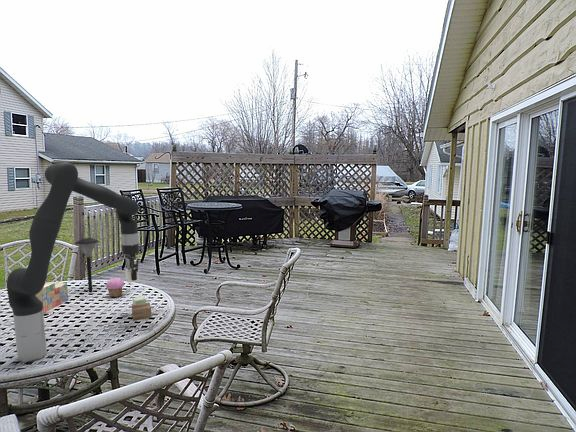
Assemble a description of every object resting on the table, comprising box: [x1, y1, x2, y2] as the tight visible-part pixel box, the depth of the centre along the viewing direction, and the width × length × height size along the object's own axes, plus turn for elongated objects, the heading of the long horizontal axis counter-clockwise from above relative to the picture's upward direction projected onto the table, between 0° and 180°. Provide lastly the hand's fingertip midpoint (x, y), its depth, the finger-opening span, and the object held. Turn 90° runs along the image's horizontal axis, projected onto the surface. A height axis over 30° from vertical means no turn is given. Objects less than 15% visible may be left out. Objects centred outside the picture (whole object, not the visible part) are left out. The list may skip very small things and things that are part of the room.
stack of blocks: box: [35, 282, 69, 314], centre depth 198 cm, size 21×6×12 cm, turn 173°
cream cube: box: [124, 268, 141, 284], centre depth 185 cm, size 5×5×5 cm
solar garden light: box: [74, 237, 100, 293], centre depth 221 cm, size 12×12×30 cm
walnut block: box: [131, 302, 152, 321], centre depth 187 cm, size 8×8×5 cm
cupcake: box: [105, 277, 125, 298], centre depth 214 cm, size 9×9×10 cm
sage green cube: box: [132, 296, 147, 305], centre depth 197 cm, size 5×5×5 cm
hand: (132, 278), depth 185 cm, fingers closed on cream cube, 5 cm apart
